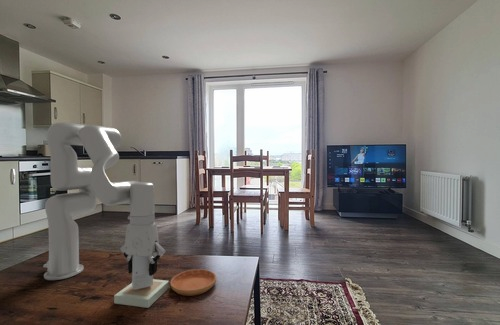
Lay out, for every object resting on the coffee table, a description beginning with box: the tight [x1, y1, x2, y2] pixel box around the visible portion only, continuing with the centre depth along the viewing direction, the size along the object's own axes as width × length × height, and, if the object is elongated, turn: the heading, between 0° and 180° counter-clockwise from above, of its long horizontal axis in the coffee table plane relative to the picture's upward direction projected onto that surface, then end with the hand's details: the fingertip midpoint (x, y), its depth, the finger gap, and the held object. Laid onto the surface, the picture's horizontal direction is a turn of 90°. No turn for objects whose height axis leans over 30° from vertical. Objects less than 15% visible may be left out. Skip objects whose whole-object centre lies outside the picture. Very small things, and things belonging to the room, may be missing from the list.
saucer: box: [169, 268, 217, 297], centre depth 88 cm, size 16×16×3 cm
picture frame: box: [113, 278, 170, 309], centre depth 82 cm, size 12×12×3 cm
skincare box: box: [131, 252, 154, 290], centre depth 82 cm, size 6×4×12 cm
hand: (142, 272), depth 82 cm, fingers closed on skincare box, 7 cm apart
